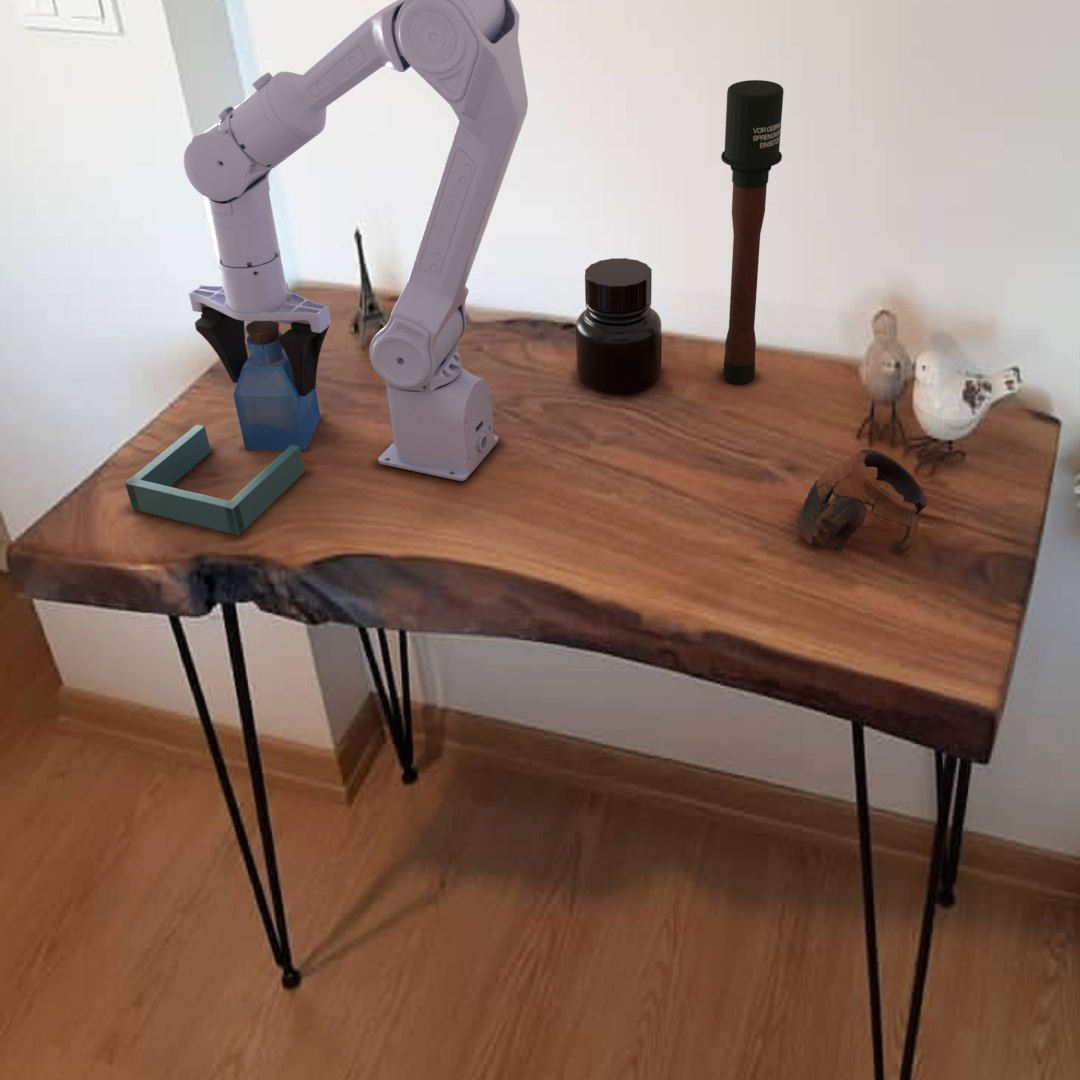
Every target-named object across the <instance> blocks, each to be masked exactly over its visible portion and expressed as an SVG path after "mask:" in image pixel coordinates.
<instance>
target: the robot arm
mask: <svg viewBox="0 0 1080 1080" xmlns="http://www.w3.org/2000/svg"><path fill="white" fill-rule="evenodd" d="M519 29H520V12H519V11H518V9H517V8H516V5H515V4H514V2H513V1H512V0H396V1H395V0H394V1H393V2H392V3H390V4H388V5H386V6H385V7H383V8H382V9H381V10H379V11H377V12H376V13H374V14H373V15H372V16H370V17H369V18H367V19H366V20H365V21H364V22H362V23H361V24H360V25H359V26H357V28H355V30H352V32H351V33H350V34H349V35H347V36H346V37H345V38H343V40H342V41H340V43H338V44H337V45H336V46H334V47H333V48H332V49H331V50H330V51H329V52H327V53H326V55H324V56H323V57H322V58H321V59H319V61H317V62H316V63H315V64H314V65H313V66H311V67H310V68H308V70H307V71H306V72H305V73H303V74H300V73H296V72H292V71H280V72H277V73H276V74H275V75H272V74H271V72H266V73H264V74H263V75H261V76H260V77H259V78H258V79H256V80H255V81H254V82H253V83H252V85H251V86H252V87H253V89H254V90H255V91H254V92H252V93H251V94H250V95H249V96H248V97H247V98H245V99H244V100H243V101H241V102H240V103H239V104H237V106H235V107H233V106H231V105H228V106H226V107H225V108H224V109H222V110H221V111H220V112H219V113H218V114H217V118H218V119H219V122H218V123H216V124H214V125H213V126H212V127H209V128H208V129H207V130H205V131H204V132H201V133H199V134H195V135H194V136H193V138H192V140H191V142H190V143H189V144H188V145H187V146H186V148H185V150H184V153H183V158H182V159H183V162H182V163H183V169H184V173H185V175H186V178H187V179H188V182H189V183H190V184H191V186H192V187H193V188H194V189H195V190H196V191H197V192H198V193H199V194H200V195H202V196H203V200H204V205H205V209H206V213H207V218H208V223H209V227H210V228H209V229H210V231H211V237H212V241H213V246H214V252H215V256H216V259H217V264H218V269H219V274H220V278H221V283H222V285H206V284H205V285H204V284H200V285H198V286H197V287H195V288H194V289H192V290H191V291H190V292H188V296H189V300H190V304H191V305H190V306H191V308H192V309H191V310H192V312H196V313H200V318H198V319H197V320H196V321H195V322H194V328H195V331H196V332H198V334H200V335H201V336H202V337H203V339H204V340H205V341H206V342H207V343H208V344H209V346H211V348H212V350H214V352H215V353H216V354H217V356H218V358H219V360H220V361H221V363H222V365H223V367H224V369H225V370H226V372H227V374H228V376H229V378H230V380H231V382H232V383H234V384H237V383H238V380H239V377H240V374H241V371H242V368H243V366H244V364H245V362H246V361H247V359H248V357H249V355H248V350H247V349H248V348H247V344H246V343H247V342H246V336H245V335H246V334H245V331H246V330H245V322H253V321H274V322H278V323H279V324H286V325H290V328H289V329H287V330H286V331H284V333H282V335H281V336H280V337H279V338H278V340H279V343H280V344H281V346H282V347H283V349H284V351H285V353H286V355H287V357H288V359H289V362H290V365H291V368H292V371H293V376H294V381H295V386H296V389H297V391H298V393H299V395H300V396H306V395H308V394H309V393H310V392H311V391H312V390H313V389H314V388H316V387H317V373H318V364H319V358H320V354H321V350H322V346H323V344H324V340H325V338H326V335H327V333H328V331H329V328H330V326H331V325H332V321H331V320H332V319H331V315H330V314H331V313H330V309H329V305H326V304H321V303H317V302H315V301H312V300H310V299H308V298H305V297H303V296H301V295H299V294H297V293H294V292H292V291H290V287H289V284H288V283H287V282H286V278H285V272H284V267H283V262H282V255H281V251H280V245H279V240H278V235H277V234H278V233H277V228H276V223H275V217H274V213H273V207H272V200H271V195H270V191H271V187H270V183H269V176H270V173H271V171H273V169H275V168H276V167H277V166H279V165H280V164H281V163H282V162H284V161H285V160H286V159H288V158H289V157H290V156H292V155H293V154H294V153H296V152H297V151H298V150H300V149H302V148H303V147H304V146H305V145H306V144H308V143H309V142H311V141H312V140H313V139H314V138H315V137H317V136H319V135H320V134H321V133H322V132H323V131H324V129H325V127H326V124H327V123H326V122H327V107H329V106H330V105H332V104H333V103H334V102H336V101H337V100H338V99H340V98H341V97H342V96H344V95H345V94H346V93H348V92H349V91H350V90H352V89H353V88H355V87H356V86H358V85H359V84H361V83H362V82H363V81H364V80H366V79H367V78H369V77H370V76H372V75H373V74H375V73H376V72H377V71H378V70H380V69H381V68H383V67H386V68H387V69H390V70H393V71H396V72H398V73H405V72H406V71H407V70H409V69H410V68H412V69H413V70H414V71H415V72H416V73H417V74H418V75H419V76H420V77H421V78H422V79H423V80H424V81H425V82H426V83H427V84H428V85H429V86H430V87H431V88H432V89H433V90H434V91H435V92H436V93H437V94H438V95H439V96H440V97H441V98H443V100H444V101H446V103H447V104H449V106H450V107H451V109H452V111H453V112H454V114H455V115H456V117H457V121H458V122H457V126H456V129H455V132H454V135H453V138H452V142H451V145H450V148H449V151H448V154H447V157H446V161H445V163H444V166H443V169H442V173H441V176H440V179H439V182H438V185H437V188H436V191H435V195H434V198H433V202H432V204H431V208H430V211H429V213H428V217H427V220H426V223H425V226H424V229H423V233H422V235H421V238H420V241H419V245H418V248H417V251H416V255H415V257H414V261H413V264H412V267H411V270H410V273H409V276H408V280H407V282H406V283H405V285H404V288H403V290H402V291H401V293H400V295H399V297H398V299H397V301H396V303H395V305H394V306H393V308H392V310H391V313H390V317H389V318H388V322H387V324H386V325H384V327H382V328H381V329H380V330H379V331H378V332H377V333H376V334H375V335H374V336H373V338H372V339H371V342H370V344H369V348H368V349H369V350H368V355H369V360H370V363H371V366H372V368H373V369H374V371H375V373H376V374H377V375H378V377H380V379H381V380H383V381H384V382H385V386H386V387H385V388H386V393H387V402H388V408H389V416H390V425H391V430H392V438H393V442H392V443H391V444H390V445H389V446H388V447H387V449H385V451H384V452H383V453H382V454H381V455H379V457H378V458H377V463H378V464H379V465H383V466H387V467H393V468H398V469H403V470H405V471H406V470H407V471H411V472H415V473H419V474H425V475H430V476H434V477H440V478H445V479H449V480H453V481H458V482H464V481H466V480H467V479H468V478H469V477H470V475H472V473H473V472H474V471H475V469H477V467H478V466H479V465H480V464H481V463H482V462H483V460H484V459H485V458H486V457H487V455H488V454H489V453H490V452H491V451H492V450H493V448H494V447H495V446H496V445H497V443H498V442H499V436H497V435H495V423H494V413H493V399H492V390H491V386H490V384H489V383H488V381H487V380H486V379H484V378H482V377H478V376H476V375H474V374H472V373H471V372H469V371H467V370H466V369H465V368H464V367H463V366H462V361H461V357H460V354H459V350H458V344H457V343H459V341H461V339H462V338H463V336H464V335H465V332H466V330H467V325H468V324H467V323H468V321H467V320H468V319H467V314H466V306H465V305H466V301H467V297H468V293H469V292H470V291H469V288H468V287H467V286H466V285H467V282H468V279H469V276H470V274H471V271H472V268H473V265H474V262H475V259H476V256H477V254H478V251H479V247H480V245H481V243H482V240H483V238H484V234H485V231H486V228H487V226H488V222H489V220H490V217H491V215H492V212H493V208H494V206H495V204H496V200H497V198H498V196H499V192H500V189H501V186H502V184H503V181H504V178H505V175H506V172H507V169H508V167H509V164H510V161H511V158H512V155H513V153H514V150H515V147H516V144H517V141H518V138H519V136H520V133H521V130H522V128H523V125H524V122H525V120H526V119H525V118H526V116H527V113H528V106H529V99H528V98H529V97H528V92H527V88H526V80H525V73H524V69H523V63H522V62H523V61H522V56H521V50H520V44H519Z"/></svg>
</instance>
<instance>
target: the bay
mask: <svg viewBox="0 0 1080 1080" xmlns="http://www.w3.org/2000/svg"><path fill="white" fill-rule="evenodd" d="M211 452H212V450H211V446H210V442H209V437H208V434H207V430H206V426H205V425H202V424H201V425H200V424H196V425H194V426H193V427H191V428H190V429H189V430H188V431H187V432H186V433H184V434H183V435H181V437H179V438H178V439H177V440H176V441H174V442H173V444H171V445H170V446H169V447H167V448H166V449H165V450H164V451H163V452H161V453H160V454H159V455H158V456H156V457H155V458H154V459H153V460H151V461H150V462H149V463H148V464H147V465H145V466H144V467H143V468H142V469H141V470H139V471H138V472H137V473H136V474H134V475H133V476H131V477H130V478H129V479H128V480H127V481H126V482H124V483H125V484H124V485H125V488H126V491H127V494H128V498H129V501H130V505H131V508H132V510H134V511H137V512H141V513H146V514H148V515H149V514H150V515H154V516H158V517H162V518H164V519H165V518H166V519H168V520H169V519H170V520H173V521H178V522H182V523H186V524H190V525H194V526H198V527H201V528H206V529H211V530H215V531H218V532H223V533H226V534H230V535H233V536H240V535H241V534H243V533H244V532H245V531H246V529H248V528H249V526H251V525H252V524H253V523H254V521H256V520H257V519H258V518H259V517H260V516H262V514H263V513H264V512H265V511H266V510H268V508H269V507H271V505H272V504H273V503H275V502H276V501H277V500H278V498H280V497H281V496H282V495H283V494H284V493H285V492H286V491H287V490H288V489H289V488H290V487H291V486H292V485H293V484H294V483H295V482H296V481H297V480H298V479H299V478H300V477H302V475H303V474H304V473H305V467H304V462H303V458H302V457H303V456H302V453H301V450H300V447H299V446H295V445H290V446H289V447H288V448H287V449H286V450H283V452H281V453H280V454H279V455H278V456H277V457H276V458H275V459H274V460H273V461H271V463H270V464H268V465H267V466H266V467H265V468H264V469H263V470H262V471H260V473H259V474H258V475H257V476H256V477H254V478H253V480H251V481H250V482H249V483H247V485H246V486H245V487H244V488H243V489H242V490H240V491H239V492H238V493H237V494H236V495H235V496H233V498H232V499H230V500H227V499H223V498H218V497H216V496H215V497H214V496H210V495H206V494H202V493H199V492H194V491H190V490H185V489H180V488H176V487H172V486H173V485H174V484H175V483H177V482H178V481H179V480H180V479H181V478H182V477H183V476H185V475H186V474H187V473H188V472H189V471H191V470H192V469H193V468H194V467H195V466H196V465H197V464H198V463H200V462H201V461H202V460H203V459H205V458H206V457H207V456H208V455H209V454H210V453H211Z"/></svg>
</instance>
